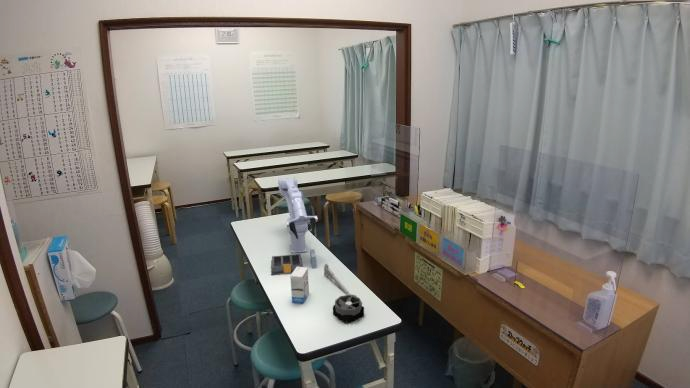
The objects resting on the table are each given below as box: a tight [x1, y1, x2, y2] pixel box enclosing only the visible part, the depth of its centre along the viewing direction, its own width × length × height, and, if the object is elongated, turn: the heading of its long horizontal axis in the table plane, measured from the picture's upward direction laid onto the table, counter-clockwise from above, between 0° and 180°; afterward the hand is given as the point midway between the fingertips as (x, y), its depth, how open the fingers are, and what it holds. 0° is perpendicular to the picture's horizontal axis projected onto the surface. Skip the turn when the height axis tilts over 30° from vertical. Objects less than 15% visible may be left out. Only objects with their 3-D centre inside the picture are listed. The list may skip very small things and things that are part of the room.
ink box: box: [289, 266, 310, 304], centre depth 159 cm, size 9×5×12 cm, turn 168°
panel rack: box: [270, 253, 304, 276], centre depth 186 cm, size 14×15×5 cm
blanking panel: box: [309, 248, 317, 269], centre depth 187 cm, size 8×2×6 cm, turn 10°
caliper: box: [323, 263, 350, 295], centre depth 169 cm, size 21×1×6 cm, turn 31°
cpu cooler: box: [332, 293, 365, 324], centre depth 148 cm, size 10×6×10 cm
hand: (305, 235), depth 180 cm, fingers open, 7 cm apart
